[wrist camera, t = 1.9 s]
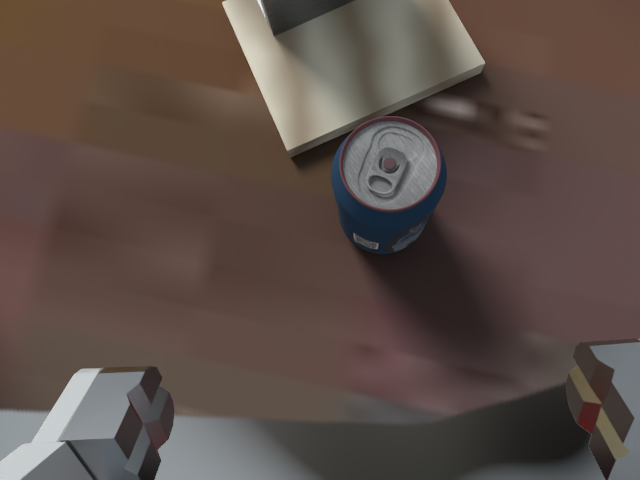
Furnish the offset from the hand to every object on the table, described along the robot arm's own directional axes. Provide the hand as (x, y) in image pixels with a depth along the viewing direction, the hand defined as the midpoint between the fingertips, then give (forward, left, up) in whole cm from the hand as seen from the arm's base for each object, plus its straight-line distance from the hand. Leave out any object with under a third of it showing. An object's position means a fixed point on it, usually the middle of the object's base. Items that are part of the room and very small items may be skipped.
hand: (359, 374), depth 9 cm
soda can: (+6, +9, -27) cm, 29 cm away
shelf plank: (+10, +25, -27) cm, 38 cm away
